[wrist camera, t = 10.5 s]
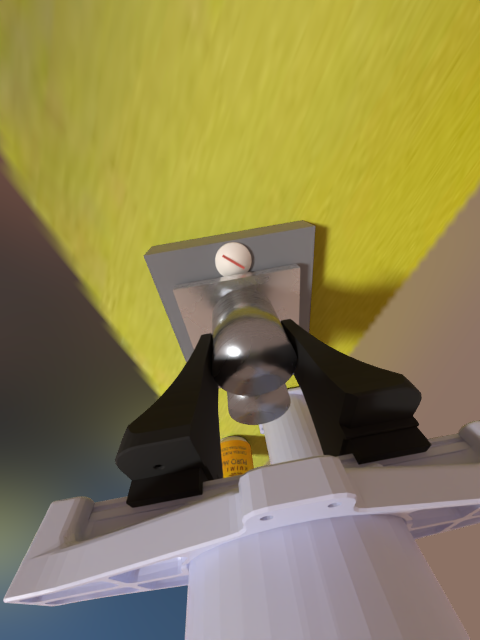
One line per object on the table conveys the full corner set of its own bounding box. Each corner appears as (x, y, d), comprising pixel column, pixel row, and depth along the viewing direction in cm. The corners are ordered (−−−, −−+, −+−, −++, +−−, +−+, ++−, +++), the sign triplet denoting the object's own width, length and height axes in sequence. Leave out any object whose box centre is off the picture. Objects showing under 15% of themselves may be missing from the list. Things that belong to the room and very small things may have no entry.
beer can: (243, 430, 33) (263, 583, 20) (254, 447, 36) (276, 587, 24) (207, 440, 33) (204, 596, 21) (221, 456, 36) (225, 598, 24)
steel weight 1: (275, 334, 16) (297, 387, 12) (219, 345, 16) (222, 402, 12) (271, 282, 14) (297, 326, 9) (205, 295, 14) (202, 344, 9)
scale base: (298, 350, 24) (308, 369, 22) (197, 368, 24) (195, 390, 22) (302, 220, 16) (318, 227, 14) (152, 246, 16) (141, 257, 14)
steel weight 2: (270, 373, 20) (285, 422, 16) (224, 375, 20) (227, 427, 15) (276, 337, 18) (296, 384, 14) (225, 338, 17) (229, 388, 13)
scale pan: (295, 367, 21) (297, 373, 21) (208, 383, 21) (208, 390, 21) (296, 263, 15) (300, 267, 15) (174, 285, 15) (172, 290, 14)
